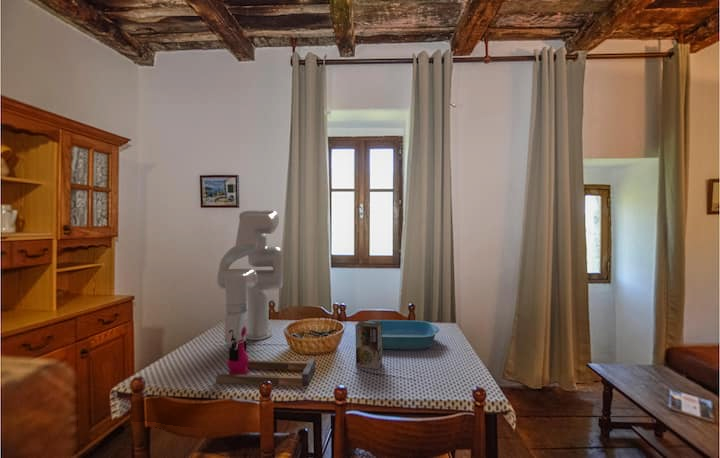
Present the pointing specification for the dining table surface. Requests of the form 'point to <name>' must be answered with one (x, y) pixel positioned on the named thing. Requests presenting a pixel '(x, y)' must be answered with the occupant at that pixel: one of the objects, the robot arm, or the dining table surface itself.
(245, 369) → the pepper mill
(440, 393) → the dining table surface
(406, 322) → the casserole dish
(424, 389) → the dining table surface
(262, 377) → the guide channel
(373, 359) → the coffee box
